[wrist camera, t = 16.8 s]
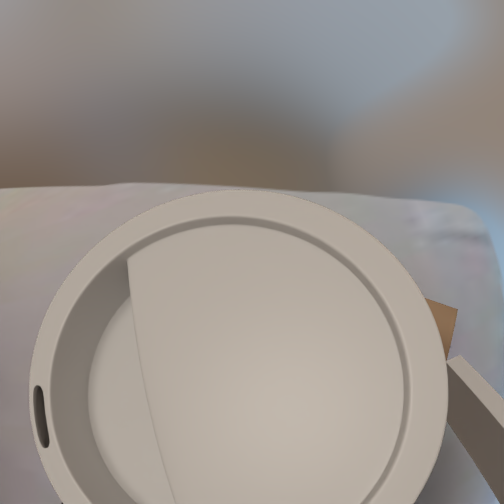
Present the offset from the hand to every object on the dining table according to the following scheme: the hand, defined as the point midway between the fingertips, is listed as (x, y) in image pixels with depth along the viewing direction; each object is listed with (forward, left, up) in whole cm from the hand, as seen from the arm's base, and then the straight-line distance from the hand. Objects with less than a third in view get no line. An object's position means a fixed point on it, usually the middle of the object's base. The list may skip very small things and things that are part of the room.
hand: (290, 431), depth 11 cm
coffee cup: (+1, +1, -7) cm, 8 cm away
